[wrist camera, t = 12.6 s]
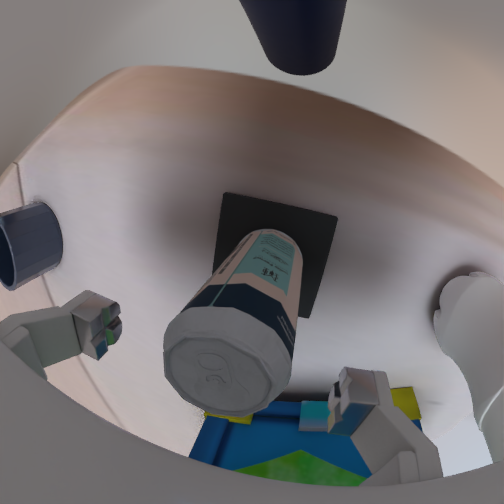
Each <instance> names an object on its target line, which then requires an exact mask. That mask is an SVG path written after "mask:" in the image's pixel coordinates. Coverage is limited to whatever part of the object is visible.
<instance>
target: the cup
mask: <svg viewBox="0 0 504 504" xmlns="http://www.w3.org/2000/svg"><path fill="white" fill-rule="evenodd" d="M62 250H63V245H62V236H61V231H60V227H59V224H58V221H57V219H56V217H55V215H54V213H53V212H52V210H51V209H50V208H49V207H48V206H47V205H46V204H44V203H40V202H39V203H33V204H29V205H26V206H22V207H19V208H16V209H12V210H9V211H6V212H3V213H0V282H1V283H2V285H3V286H4V287H5V288H6V289H8V290H9V291H12V290H15V289H17V288H19V287H21V286H22V285H24V284H26V283H28V282H29V281H31V280H33V279H35V278H37V277H39V276H40V275H42V274H44V273H46V272H48V271H50V270H52V269H54V268H55V267H56V266H57V265H58V264H59V262H60V260H61V257H62Z"/></svg>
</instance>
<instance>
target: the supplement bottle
mask: <svg viewBox="0 0 504 504" xmlns="http://www.w3.org/2000/svg"><path fill="white" fill-rule="evenodd" d="M302 267H303V259H302V254H301V252H300V249H299V247H298V246H297V244H296V243H295V241H294V240H293V239H292V238H291V237H289V236H288V235H286V234H285V233H283V232H281V231H277V230H274V229H261V230H256V231H253V232H251V233H249V234H248V235H246V236H245V237H244V238H243V239H242V240H241V241H240V243H239V244H238V246H237V247H236V248H235V249H234V250H233V252H232V253H231V254H230V255H229V256H228V257H227V258H226V260H225V261H224V262H223V263H222V264H221V265H220V267H219V268H218V269H217V270H216V271H215V272H214V274H213V275H212V276H211V277H210V278H209V279H208V281H207V282H206V283H205V284H204V285H203V286H202V288H201V289H200V290H199V291H198V292H197V293H196V295H195V296H194V297H193V298H192V299H191V300H190V302H189V303H188V304H187V305H186V306H185V308H184V309H183V310H182V311H181V312H180V313H179V314H178V315H177V316H176V317H175V318H174V319H173V320H172V321H171V322H170V323H169V325H168V327H167V329H166V332H165V334H164V344H163V349H164V352H163V356H164V373H165V377H166V379H167V380H168V381H169V382H170V384H171V385H172V386H173V387H174V389H175V390H176V391H177V392H178V393H179V395H180V396H181V397H182V398H183V399H184V400H186V401H188V402H189V403H191V404H193V405H195V406H197V407H199V408H201V409H203V410H205V411H207V412H209V413H211V414H215V415H223V416H233V417H245V416H248V415H250V414H253V413H255V412H258V411H260V410H262V409H265V408H267V407H268V405H269V403H271V402H272V401H273V400H274V399H275V398H276V397H277V396H279V395H280V394H281V392H282V391H283V390H284V389H285V387H286V386H287V384H288V382H289V379H290V376H291V369H292V359H293V351H294V343H295V335H296V326H297V317H298V308H299V298H300V287H301V276H302Z"/></svg>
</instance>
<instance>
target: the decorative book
mask: <svg viewBox="0 0 504 504" xmlns="http://www.w3.org/2000/svg"><path fill="white" fill-rule="evenodd" d="M390 391H391V395H392V400H393V404H394V406H396V407H399V409H400V410H401V411H402V412H403V413H404V414H405V415H406V416H407V417H408V418H409V419H410V420H411V421H412V422H413V423H414V424H415V425H416V426H417V427H418V428H419V429H420V430H421V431H422V427H421V423H420V420H421V414H420V411H419V407H418V404H417V400H416V397H415V394H414V391H413V388H412V387H407V388H398V389H390ZM330 414H331V412H330V411H329V409H328V401H302V402H286V401H272V402H271V403H269V405H268V407H267V408H265V409H262V410H260V411H258V412H255V413H253V414H250V415H248V416H245V417H233V416H223V415H215V414H211V413H209V412H207V411H205V413H204V416H205V421H204V423H203V426H202V428H201V430H200V432H199V435H198V437H197V439H196V441H195V443H194V446H193V448H192V450H191V452H190V454H189V458H191V459H194V460H197V461H200V462H203V463H207V464H210V465H213V466H217V467H220V468H224V469H227V470H231V471H235V472H239V473H243V474H248V475H252V476H257V477H262V478H267V479H273V480H279V481H286V482H293V483H301V484H311V485H324V486H359V485H360V484H361V483H362V482H363V481H365V480H366V479H367V478H369V477H370V476H371V475H372V473H371V471H370V470H369V468H368V466H367V465H366V463H365V461H364V460H363V458H362V456H361V455H360V453H359V451H358V450H357V448H356V446H355V445H354V443H353V441H352V440H351V438H350V437H351V436H344V435H335V434H328V433H327V422H328V417H329V415H330ZM422 432H423V431H422Z"/></svg>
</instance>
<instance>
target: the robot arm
mask: <svg viewBox="0 0 504 504" xmlns="http://www.w3.org/2000/svg"><path fill="white" fill-rule="evenodd" d="M120 313H121V312H120V305H119V304H118V303H117V302H115V301H113V300H110V299H108V298H106V297H104V296H101V295H99V294H97V293H94V292H92V291H90V290H85V291H83V292H82V293H81V294H79V295H78V296H76V297H75V298H73V299H72V300H70V301H69V302H68V303H66V304H65V305H63V306H62V307H61V308H60V307H59V306H57V307H51V308H46V309H40V310H35V311H29V312H24V313H18V314H12V315H10V316H8V317H7V318H5V319H4V320H3V321H1V322H0V504H504V460H501V461H498V462H496V463H493V464H490V465H487V466H484V467H481V468H478V469H474V470H471V471H468V472H464V473H460V474H456V475H452V476H447V477H443V472H442V468H441V462H440V458H439V453H438V449H437V447H436V446H435V445H434V444H433V443H432V442H431V441H430V440H429V439H428V438H427V437H426V436H425V434H424V433H423V432H422V431H421V430H420V429H419V428H418V427H417V426H416V425H415V424H414V423H413V422H412V421H411V420H410V419H409V418H408V417H407V416H406V415H405V414H404V413H403V412H402V411H401V410H400V409H399V407H396V406H394V404H393V400H392V395H391V391H390V387H389V383H388V379H387V375H386V373H385V372H382V371H373V370H371V371H370V370H363V369H356V368H350V367H344V368H343V369H342V370H341V372H340V374H339V381H338V382H336V383H334V385H333V387H332V389H331V391H330V394H329V398H328V409H329V411H330V412H331V414H330V415H329V417H328V422H327V433H328V434H335V435H344V436H351V437H350V438H351V440H352V441H353V443H354V445H355V446H356V448H357V450H358V451H359V453H360V455H361V456H362V458H363V460H364V461H365V463H366V465H367V466H368V468H369V470H370V471H371V473H372V475H371V476H370V477H369V478H367V479H366V480H365V481H363V482H362V483H361V484H360V485H359V486H324V485H311V484H301V483H293V482H286V481H279V480H273V479H267V478H262V477H257V476H252V475H248V474H243V473H239V472H235V471H231V470H227V469H224V468H220V467H217V466H213V465H210V464H207V463H203V462H200V461H197V460H194V459H191V458H189V457H186V456H183V455H180V454H178V453H175V452H172V451H170V450H167V449H165V448H163V447H160V446H158V445H155V444H153V443H151V442H149V441H146V440H144V439H142V438H140V437H138V436H136V435H134V434H132V433H130V432H128V431H126V430H124V429H122V428H120V427H118V426H116V425H114V424H112V423H111V422H109V421H107V420H105V419H103V418H102V417H100V416H98V415H97V414H95V413H93V412H92V411H90V410H88V409H87V408H85V407H84V406H82V405H81V404H79V403H77V402H76V401H74V400H73V399H71V398H70V397H69V396H67V395H66V394H64V393H63V392H61V391H60V390H59V389H57V388H56V387H55V386H53V385H52V384H51V383H49V382H48V381H47V375H46V373H45V370H44V367H47V366H50V365H52V364H55V363H58V362H60V361H63V360H66V359H68V358H71V357H73V356H76V355H78V354H81V353H84V354H86V355H88V356H90V357H92V358H94V359H96V360H98V361H99V359H100V358H101V357H102V356H103V355H104V354H105V353H106V352H107V351H108V346H109V345H112V344H115V343H116V342H117V341H118V340H119V337H120V335H121V333H122V322H121V320H120V318H119V317H118V315H119V314H120Z"/></svg>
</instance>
